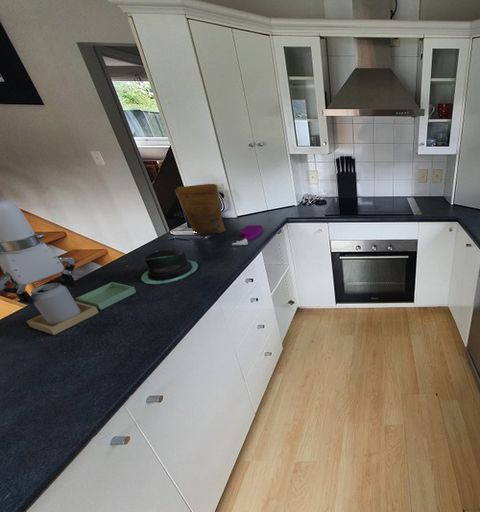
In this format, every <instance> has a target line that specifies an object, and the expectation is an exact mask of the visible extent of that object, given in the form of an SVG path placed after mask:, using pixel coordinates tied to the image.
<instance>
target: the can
mask: <svg viewBox="0 0 480 512" xmlns="http://www.w3.org/2000/svg"><path fill="white" fill-rule="evenodd" d="M30 297H31V298H32V300H33V301H34V303H33V305H34V306H35V307H36V309H37V310H38V312H39V313H40V315H42V316H43V318H44V319H45V321H46V322H47V323H48V324H55V325H57V324H59V323H61V322H63V321H65V320H67V319H69V318H72V317H74V316H76V315H78V314H79V313H80V309H79V308H78V306H77V304H76V303H75V301H76V300H75V299H74V298H73V296H72V294H71V292H70V291H69V289H68V288H67V285H66V286H65V285H63V284H62V283H60V282H51V283H46V284H43V285H39V286H37V287H35V288H33V289H32V290H31V291H30Z"/></svg>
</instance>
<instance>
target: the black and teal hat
mask: <svg viewBox="0 0 480 512" xmlns="http://www.w3.org/2000/svg"><path fill="white" fill-rule="evenodd" d="M143 260H144V262H145V264H146V267H147V269H148V270H146V271H145V272H144V273H143V274H142V275H141V277H140V280H141V281H142V282H143V283H145V284H148V285H149V284H151V285H160V284H161V285H162V284H168V283H172V282H176V281H179V280H182V279H185V278H187V277H188V276H190V275H192V274H194V273H195V272H196V271H197V270H198V267H199V263H197V262H196V261H195V260H189V259H187V257H186V253H185V251H184V250H182V249H175V248H169V249H166V248H165V249H163V250H156V251H154V252H152V253H151V252H150V253H149V254H147V255H146V256H145V257H143Z"/></svg>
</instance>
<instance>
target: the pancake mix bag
mask: <svg viewBox="0 0 480 512" xmlns="http://www.w3.org/2000/svg"><path fill="white" fill-rule="evenodd" d="M174 192H175V195H176V197H177V199H178V201H179V205H180V206H181V208H182V210H183V212H184V214H185V216H186V219H187V221H188V223H189V224H190V227H191V228H192V232H193V231H195V232H197V233H192V234H193V235H195V236H205V235H206V236H207V235H214V234H222V233H224V232H226V231H227V230H226V228H225V225H224V222H223V215H222V210H221V201H220V196H219V189H218V185H217V184H215V183H206V184H205V183H204V184H195V185H186V186H177V187H176V188H175V189H174Z"/></svg>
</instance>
